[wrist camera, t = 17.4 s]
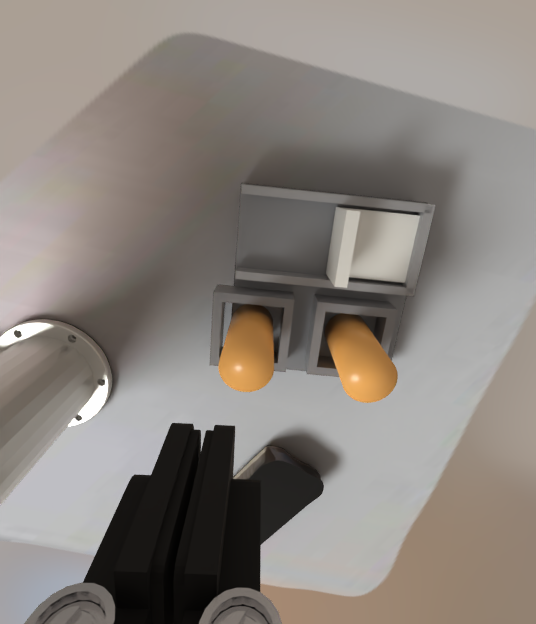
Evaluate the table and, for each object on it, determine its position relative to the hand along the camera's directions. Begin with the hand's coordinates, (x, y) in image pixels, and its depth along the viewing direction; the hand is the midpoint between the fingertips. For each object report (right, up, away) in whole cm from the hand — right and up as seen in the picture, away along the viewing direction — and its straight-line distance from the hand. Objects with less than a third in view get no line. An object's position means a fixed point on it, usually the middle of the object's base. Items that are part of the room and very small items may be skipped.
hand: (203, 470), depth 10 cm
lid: (+11, +10, +22) cm, 27 cm away
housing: (+7, +7, +27) cm, 29 cm away
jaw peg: (+9, +2, +25) cm, 27 cm away
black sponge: (0, -18, +36) cm, 40 cm away
